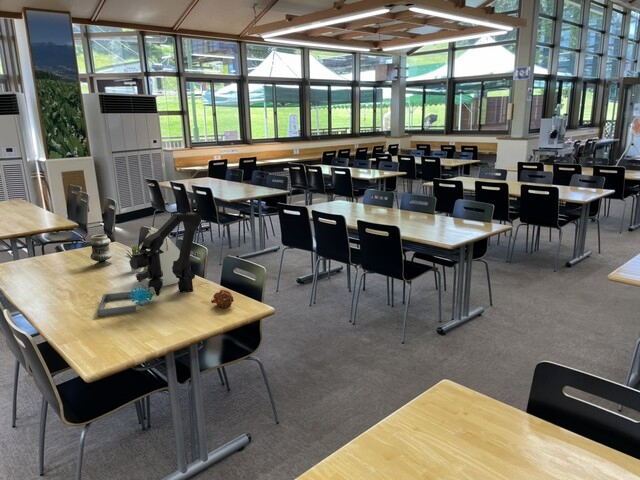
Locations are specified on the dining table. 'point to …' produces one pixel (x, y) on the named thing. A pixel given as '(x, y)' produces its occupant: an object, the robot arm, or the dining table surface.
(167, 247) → the gable box
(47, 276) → the dining table surface
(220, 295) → the dragon fruit
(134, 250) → the house plant
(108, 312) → the gear seat
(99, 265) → the apothecary jar
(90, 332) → the dining table surface
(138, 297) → the gear
